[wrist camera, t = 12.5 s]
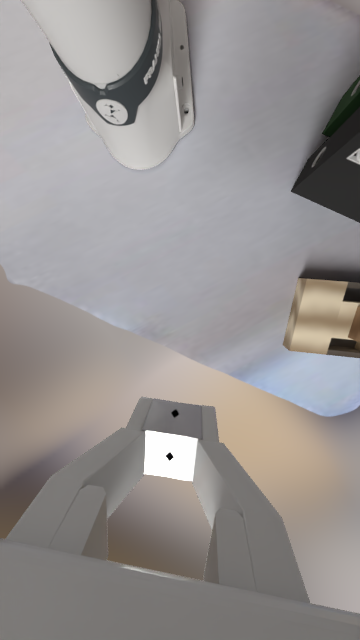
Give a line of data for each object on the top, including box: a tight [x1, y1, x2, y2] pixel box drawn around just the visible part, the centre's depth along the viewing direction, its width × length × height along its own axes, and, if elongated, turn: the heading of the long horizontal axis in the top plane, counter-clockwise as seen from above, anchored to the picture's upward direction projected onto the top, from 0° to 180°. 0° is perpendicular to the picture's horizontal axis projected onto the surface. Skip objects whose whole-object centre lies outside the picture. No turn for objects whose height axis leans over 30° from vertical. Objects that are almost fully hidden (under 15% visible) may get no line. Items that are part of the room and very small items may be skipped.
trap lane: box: [283, 278, 360, 358], centre depth 34 cm, size 14×20×7 cm
